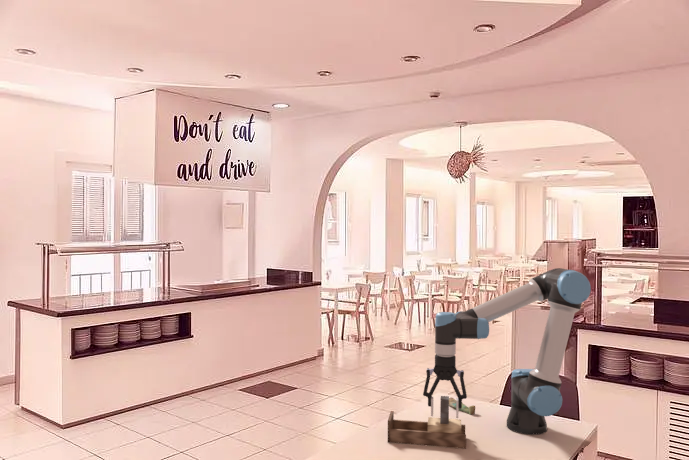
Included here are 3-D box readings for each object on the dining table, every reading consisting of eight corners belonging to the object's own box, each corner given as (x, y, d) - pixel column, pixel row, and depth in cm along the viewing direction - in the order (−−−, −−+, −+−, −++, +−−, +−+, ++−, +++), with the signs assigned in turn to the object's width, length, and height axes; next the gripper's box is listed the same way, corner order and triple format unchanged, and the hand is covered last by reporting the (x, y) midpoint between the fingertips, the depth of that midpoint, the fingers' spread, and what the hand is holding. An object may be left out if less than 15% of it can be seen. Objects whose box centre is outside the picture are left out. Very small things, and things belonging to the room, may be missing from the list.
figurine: (465, 416, 234) (465, 407, 234) (444, 405, 248) (444, 397, 248) (475, 414, 237) (476, 405, 237) (455, 404, 251) (455, 395, 251)
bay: (465, 437, 210) (465, 416, 210) (465, 448, 199) (466, 426, 199) (390, 431, 215) (391, 410, 215) (387, 442, 204) (387, 420, 204)
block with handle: (461, 435, 209) (461, 395, 209) (461, 443, 201) (461, 402, 201) (428, 433, 211) (428, 393, 211) (427, 441, 203) (427, 399, 203)
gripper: (474, 353, 207) (473, 414, 208) (416, 351, 212) (416, 410, 212) (475, 358, 200) (474, 421, 200) (415, 355, 204) (415, 417, 204)
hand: (444, 416), depth 206 cm, fingers open, 8 cm apart
